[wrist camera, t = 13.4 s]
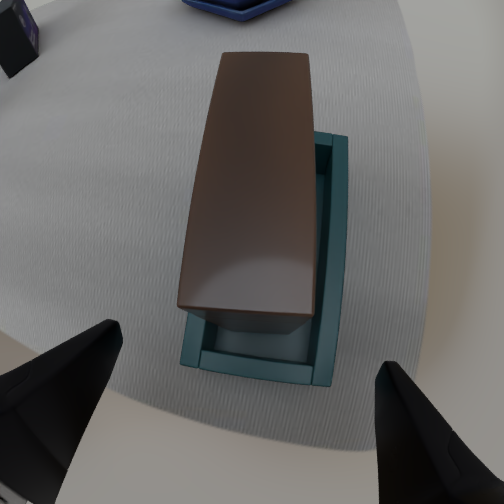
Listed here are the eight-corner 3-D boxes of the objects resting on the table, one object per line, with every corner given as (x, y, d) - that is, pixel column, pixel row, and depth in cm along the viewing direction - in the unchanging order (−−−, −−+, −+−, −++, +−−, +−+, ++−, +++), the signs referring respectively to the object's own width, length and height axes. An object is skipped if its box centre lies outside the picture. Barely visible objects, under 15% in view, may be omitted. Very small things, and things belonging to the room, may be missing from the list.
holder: (337, 169, 22) (348, 135, 18) (318, 379, 17) (331, 387, 14) (236, 157, 22) (229, 123, 19) (197, 361, 18) (178, 364, 14)
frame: (295, 183, 21) (308, 52, 10) (289, 334, 18) (315, 317, 7) (243, 181, 21) (221, 51, 11) (230, 331, 18) (175, 307, 8)
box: (41, 55, 32) (10, 4, 20) (9, 80, 31) (-26, 33, 20) (40, 27, 37) (18, -13, 25) (14, 46, 36) (-11, 9, 24)
